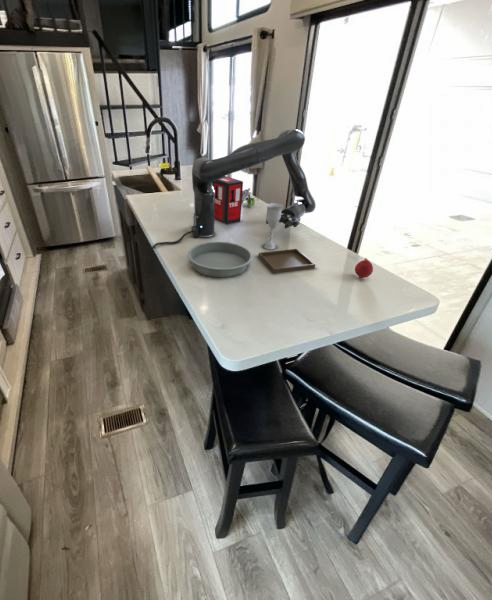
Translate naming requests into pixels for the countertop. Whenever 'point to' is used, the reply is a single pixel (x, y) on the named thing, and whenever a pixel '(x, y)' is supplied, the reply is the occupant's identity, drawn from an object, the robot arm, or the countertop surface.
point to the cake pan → (219, 258)
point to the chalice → (272, 221)
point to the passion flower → (245, 197)
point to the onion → (364, 268)
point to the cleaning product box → (228, 199)
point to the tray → (286, 260)
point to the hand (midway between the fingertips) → (276, 224)
